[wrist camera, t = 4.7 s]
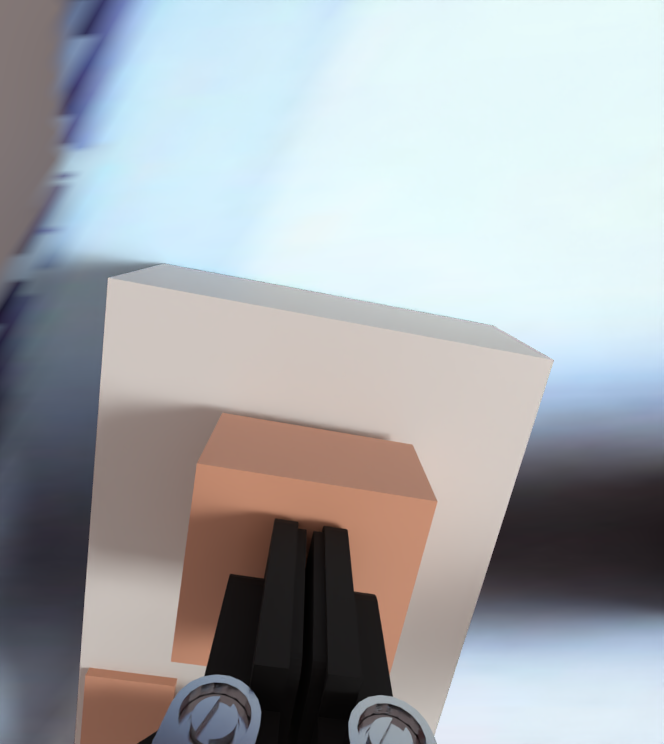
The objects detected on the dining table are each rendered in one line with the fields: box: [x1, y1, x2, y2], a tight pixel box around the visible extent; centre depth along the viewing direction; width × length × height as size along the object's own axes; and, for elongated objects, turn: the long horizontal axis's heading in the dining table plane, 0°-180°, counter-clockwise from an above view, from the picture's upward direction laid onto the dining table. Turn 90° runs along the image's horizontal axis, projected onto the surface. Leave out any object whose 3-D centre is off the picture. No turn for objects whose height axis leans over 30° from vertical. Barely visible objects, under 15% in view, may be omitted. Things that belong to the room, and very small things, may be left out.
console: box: [74, 264, 554, 744], centre depth 20 cm, size 30×12×5 cm, turn 169°
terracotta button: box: [171, 413, 438, 675], centre depth 15 cm, size 5×5×8 cm
